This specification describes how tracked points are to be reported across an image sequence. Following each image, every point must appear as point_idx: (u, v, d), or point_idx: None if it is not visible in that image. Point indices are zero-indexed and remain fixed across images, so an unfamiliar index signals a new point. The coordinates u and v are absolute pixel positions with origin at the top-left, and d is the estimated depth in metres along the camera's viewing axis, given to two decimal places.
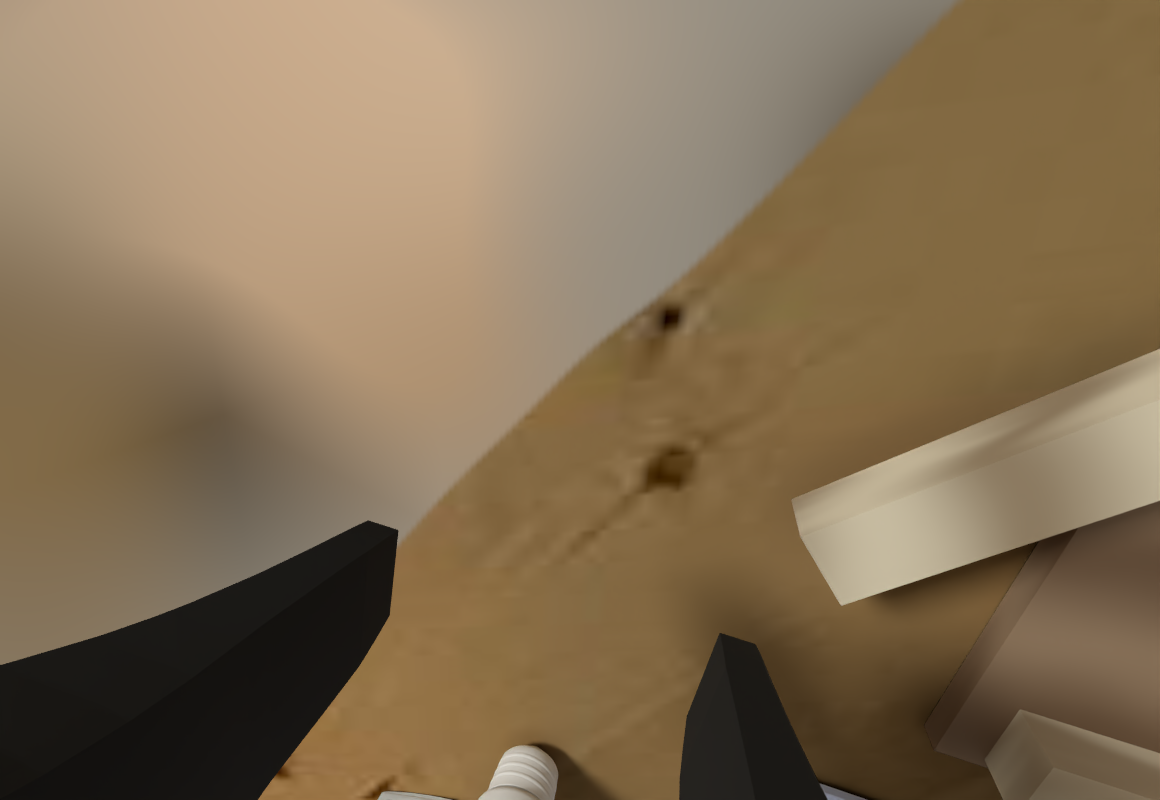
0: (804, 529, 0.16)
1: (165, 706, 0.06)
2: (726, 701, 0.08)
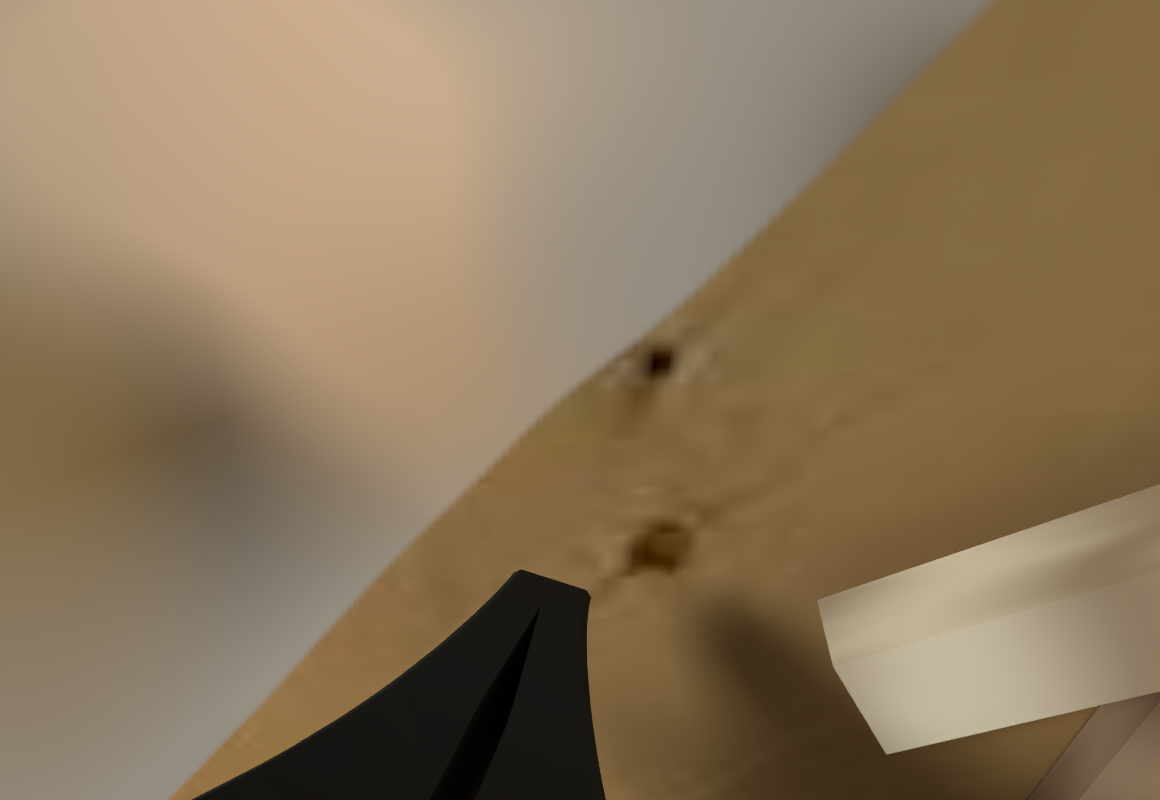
0: (838, 654, 0.12)
1: None
2: None
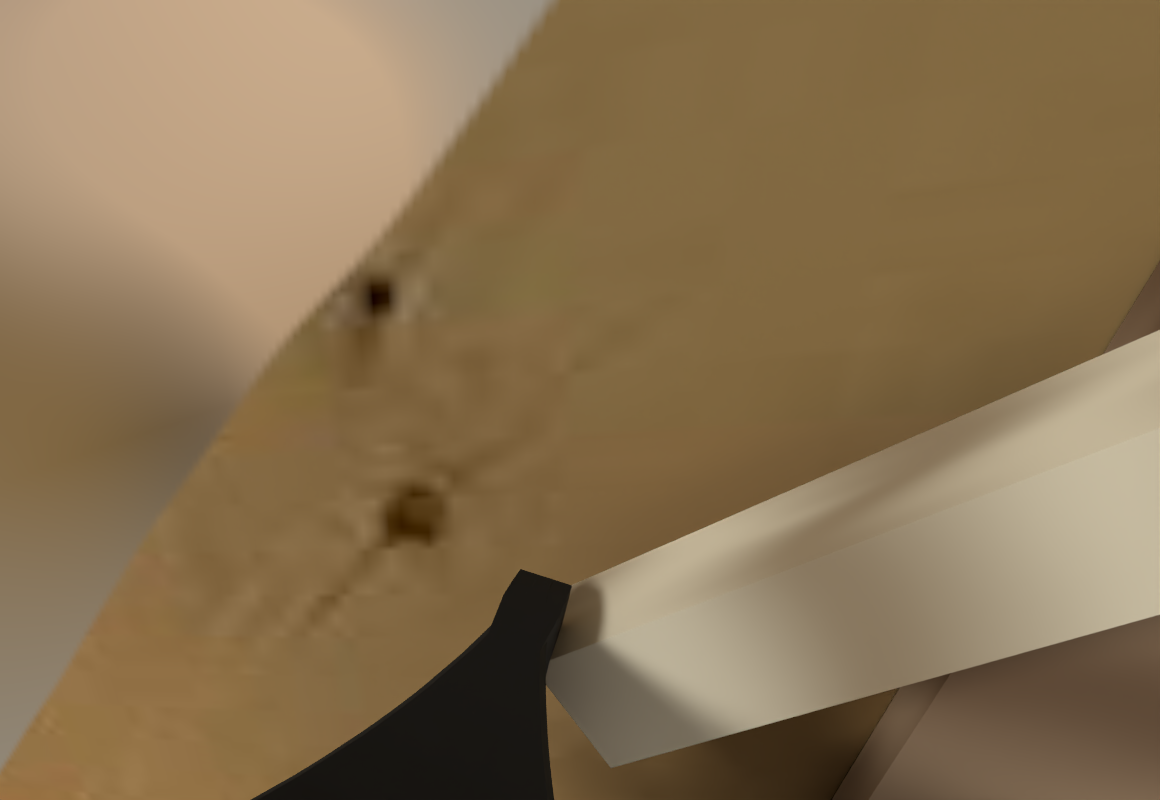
0: None
1: None
2: None
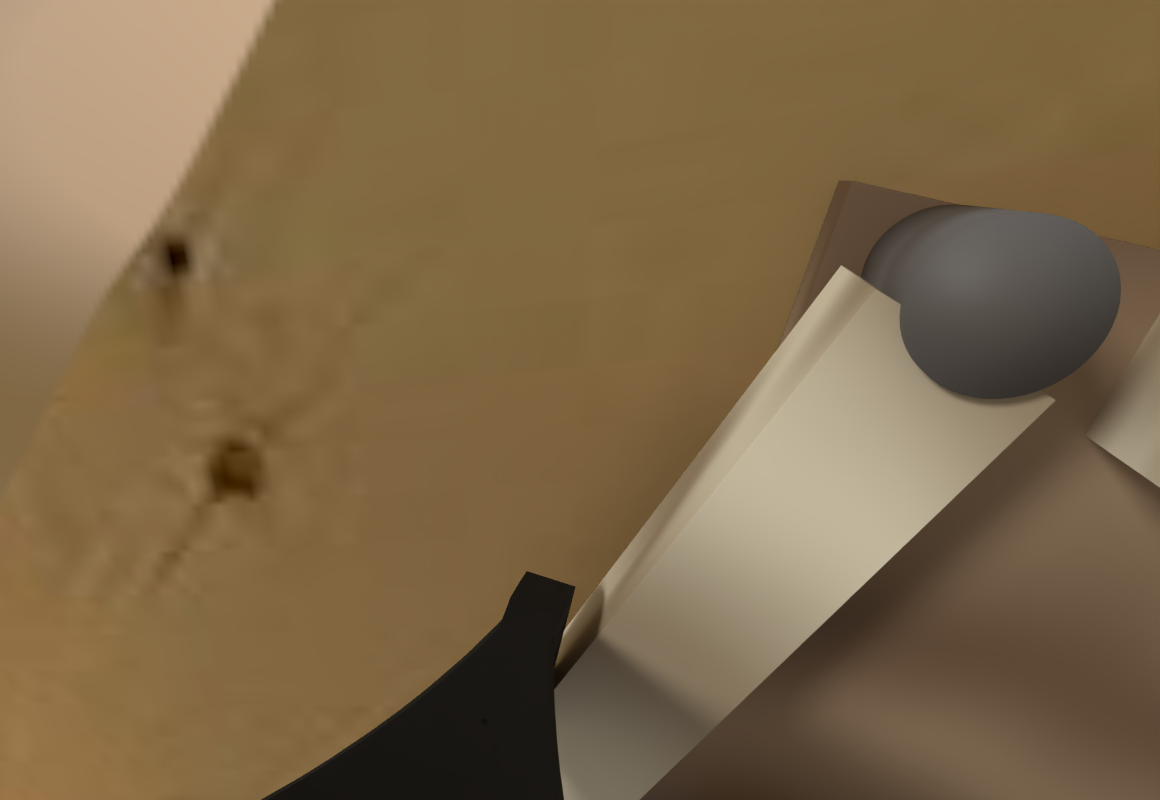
0: None
1: None
2: None
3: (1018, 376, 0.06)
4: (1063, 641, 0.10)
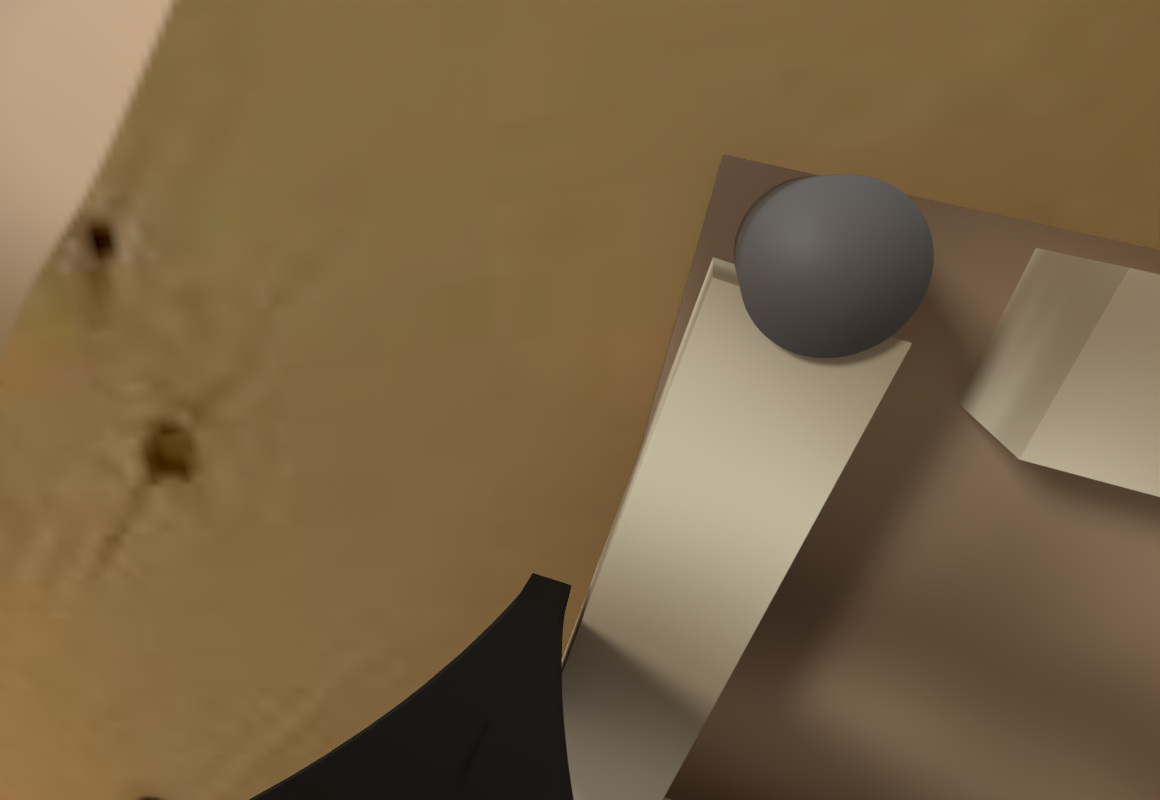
0: None
1: None
2: None
3: (863, 329, 0.07)
4: (953, 608, 0.10)
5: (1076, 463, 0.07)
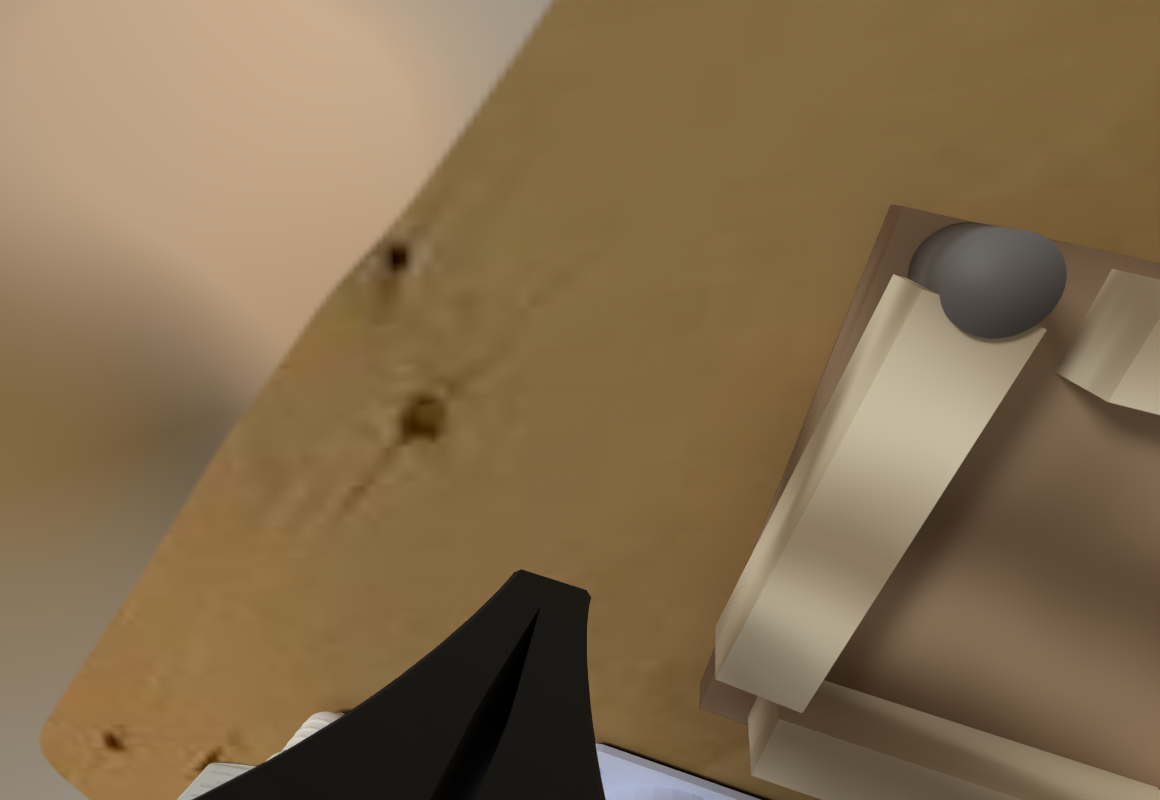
0: (717, 668, 0.16)
1: None
2: None
3: (1019, 320, 0.11)
4: (1043, 517, 0.15)
5: (1144, 403, 0.11)
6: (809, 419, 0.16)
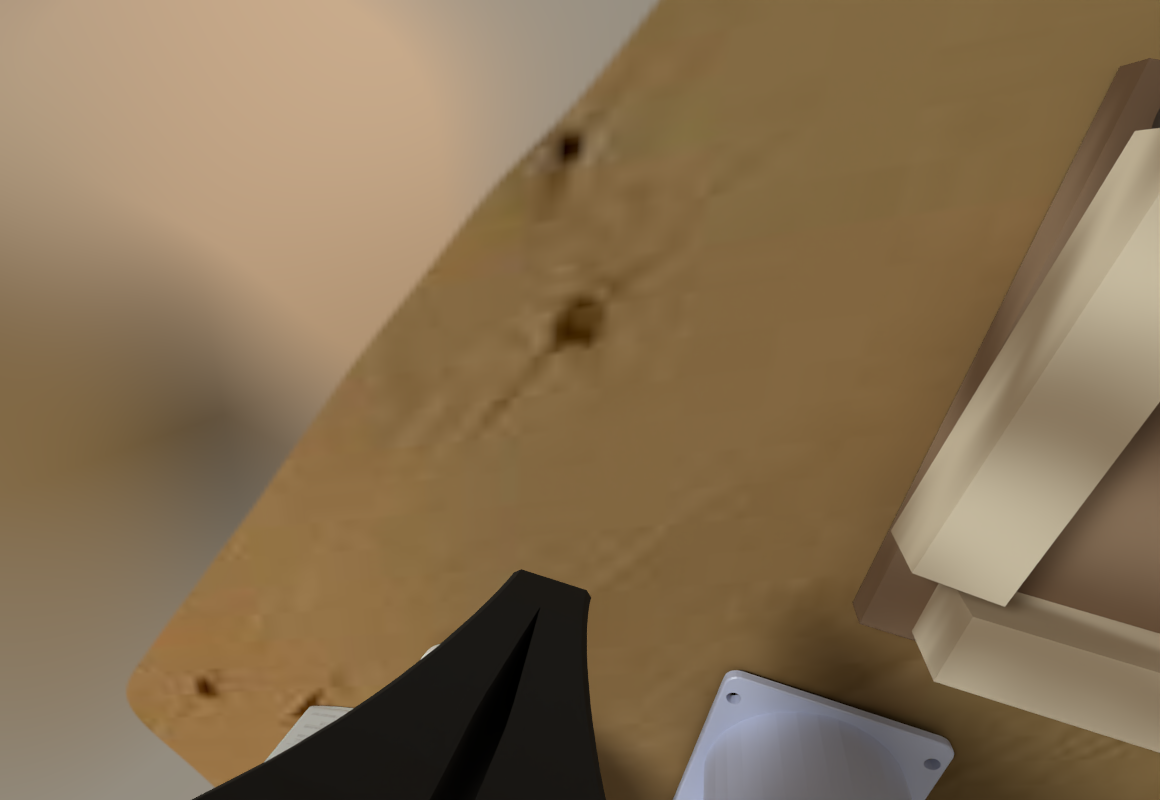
0: (911, 562, 0.15)
1: None
2: None
3: None
4: None
5: None
6: (1008, 304, 0.15)
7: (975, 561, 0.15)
